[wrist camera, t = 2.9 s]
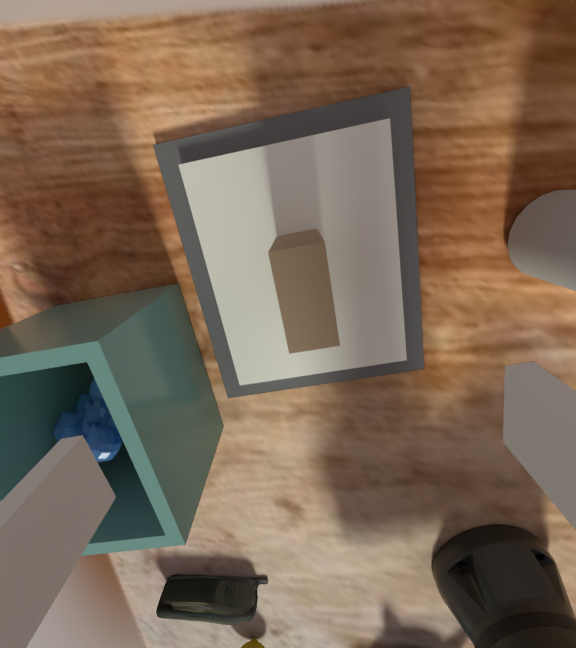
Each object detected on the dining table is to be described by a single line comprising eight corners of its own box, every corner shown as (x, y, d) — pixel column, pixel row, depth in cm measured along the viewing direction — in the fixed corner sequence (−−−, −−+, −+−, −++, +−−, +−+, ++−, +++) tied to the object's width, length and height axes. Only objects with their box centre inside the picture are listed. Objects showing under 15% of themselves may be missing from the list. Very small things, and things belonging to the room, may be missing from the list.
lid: (386, 121, 26) (435, 78, 17) (403, 354, 34) (444, 416, 24) (183, 165, 28) (123, 149, 18) (241, 379, 35) (220, 447, 26)
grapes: (183, 332, 34) (127, 398, 23) (203, 387, 36) (161, 472, 25) (81, 354, 35) (-20, 427, 24) (107, 406, 38) (26, 494, 26)
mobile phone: (156, 623, 45) (264, 628, 44) (151, 610, 44) (263, 614, 43) (170, 583, 50) (269, 587, 49) (166, 570, 49) (267, 573, 48)
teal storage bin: (178, 283, 32) (97, 340, 19) (223, 426, 38) (185, 544, 25) (53, 306, 34) (-102, 375, 21) (116, 441, 40) (27, 561, 27)
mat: (406, 89, 26) (410, 86, 25) (421, 365, 35) (424, 368, 34) (156, 146, 28) (153, 144, 27) (229, 393, 37) (228, 398, 36)
